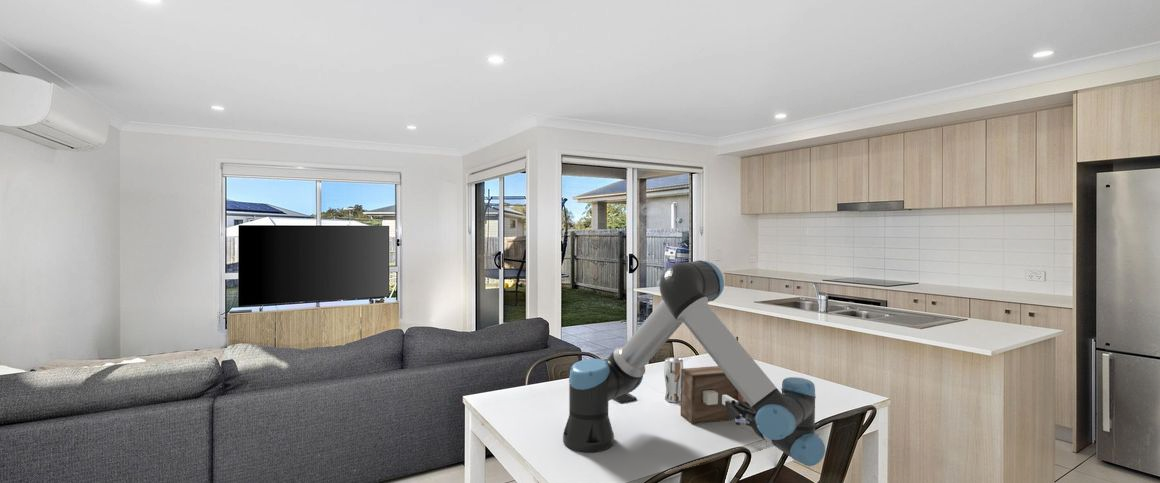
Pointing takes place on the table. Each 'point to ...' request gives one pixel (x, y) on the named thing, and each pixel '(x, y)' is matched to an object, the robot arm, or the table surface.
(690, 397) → the key box
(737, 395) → the terracotta key
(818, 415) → the table surface
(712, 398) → the oat key
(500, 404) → the table surface
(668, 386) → the beer glass
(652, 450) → the table surface
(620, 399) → the phone
